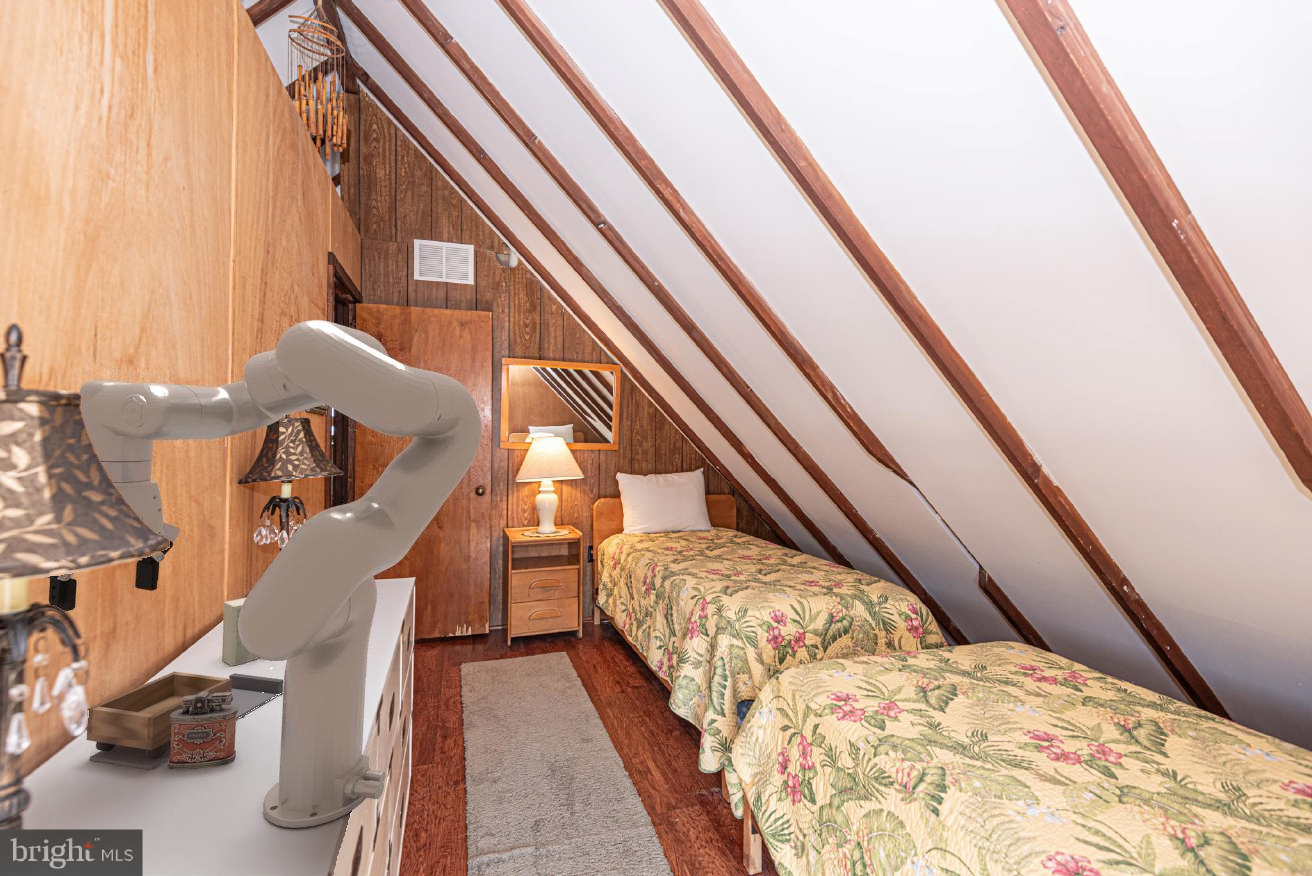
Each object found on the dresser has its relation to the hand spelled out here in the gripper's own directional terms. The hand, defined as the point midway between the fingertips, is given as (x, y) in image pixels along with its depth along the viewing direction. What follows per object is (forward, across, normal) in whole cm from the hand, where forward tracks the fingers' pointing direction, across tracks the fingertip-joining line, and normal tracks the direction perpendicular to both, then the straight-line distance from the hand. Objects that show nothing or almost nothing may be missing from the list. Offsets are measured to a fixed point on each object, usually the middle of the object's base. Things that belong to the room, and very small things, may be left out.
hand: (106, 598), depth 77 cm
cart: (+24, +9, 0) cm, 26 cm away
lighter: (+24, +7, -10) cm, 27 cm away
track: (+24, +14, +1) cm, 28 cm away
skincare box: (+25, +36, +16) cm, 46 cm away
